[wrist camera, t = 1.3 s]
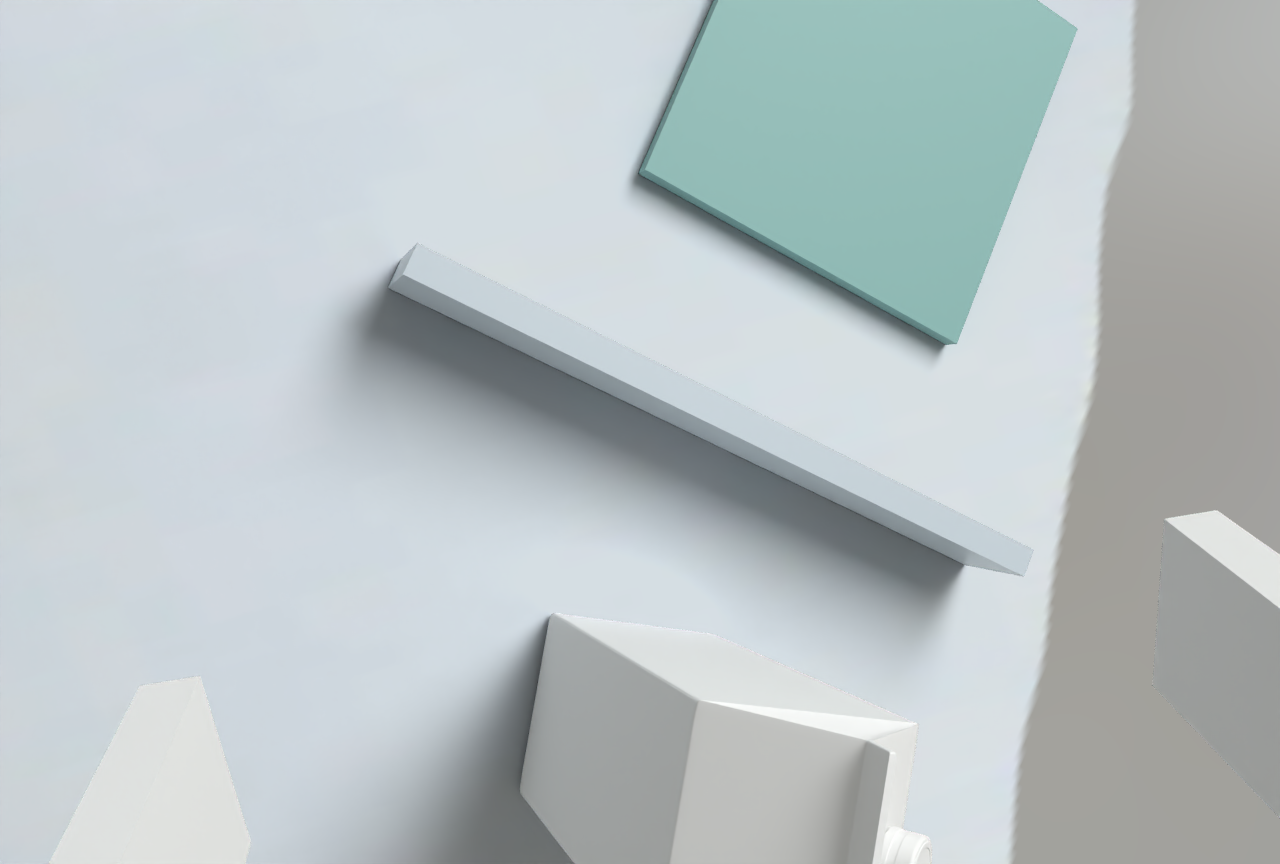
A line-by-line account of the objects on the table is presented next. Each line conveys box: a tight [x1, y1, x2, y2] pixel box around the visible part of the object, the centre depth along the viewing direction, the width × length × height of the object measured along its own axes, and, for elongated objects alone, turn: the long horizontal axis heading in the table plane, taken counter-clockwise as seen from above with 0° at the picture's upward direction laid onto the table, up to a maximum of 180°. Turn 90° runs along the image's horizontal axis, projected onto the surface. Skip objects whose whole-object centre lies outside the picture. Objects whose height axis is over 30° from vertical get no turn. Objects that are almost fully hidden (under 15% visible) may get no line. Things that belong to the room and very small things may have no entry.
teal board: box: [638, 0, 1077, 345], centre depth 48 cm, size 16×16×1 cm
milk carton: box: [520, 613, 932, 864], centre depth 36 cm, size 7×7×19 cm
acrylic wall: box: [388, 243, 1034, 576], centre depth 44 cm, size 28×1×4 cm, turn 66°
